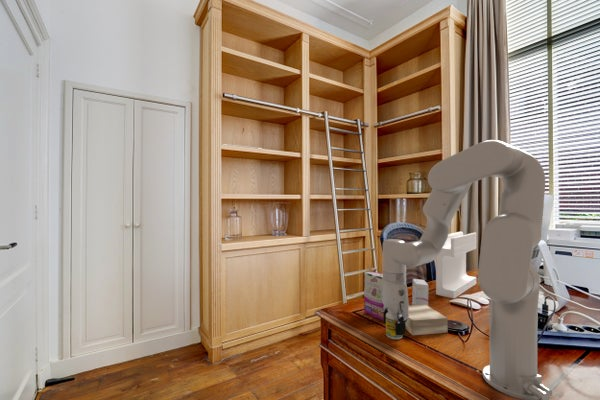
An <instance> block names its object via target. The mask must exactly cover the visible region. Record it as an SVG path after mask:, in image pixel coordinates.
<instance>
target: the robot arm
mask: <svg viewBox="0 0 600 400" xmlns="http://www.w3.org/2000/svg"><path fill="white" fill-rule="evenodd" d="M488 177H494V178H499V179H501V180H502V189H501V192H500V198H499V208H498V215H497V216H495V217H492V218H491V219H490V220H489V221H488V222H487V223H486V225H485V227H484V228H483V232H482V234H481V242H480V250H479V251H480V253H479V261H478V269H477V270H478V271H477V280H478V285H479V287H480V290H481V291H482V292H483V294H484V295H485V296H487V298H489V299H490V302H489V364H488V365H486V366H484V367H483V368H482V377H483V379H484V380H485V382H486V383H488V385H490V387H492V388H493V389H495V390H497V391H499V392H501V393H503V394H505V395H507V396H510V397H513V398H517V399H520V400H550V396H552V395H553V390H551V389H550V388H549V387H547V386H545V385H544V384H543V379H542V378H543V376H542V375H540V374H539V373H538V324H539V323H538V321H539V318H538V313H539V312H538V311H539V310H538V309H539V295H540V287H541V279H540V275H539V272H538V269H537V268H536V266H535V265H534V264H533V263H532V262H531V261H532V253H533V252H532V251H533V249H535V248H536V247H538V245H539V244H540V242H541V240H542V239H541V238H542V230H543V229H542V227H543V216H544V209H545V208H544V207H545V203H544V202H545V191H546V175H545V171H544V168H543V166H542V165H541V163H540V161H539V160H538V159H537V158H536V156H533V155H532V154H531V153H529V152H527V151H525V150H523V149H520V148H518V147H516V146H514V145H511V144H510V143H509V144H508V143H506V142H504V141H502V140H496V139H494V140H493V139H489V140H485V141H482V142H479V143H476V144H474V145H472V146H470V147H468V148H465V149H464V150H462V151H460V152H456V153H455V154H453V155H451V156H450V155H449V157H446V158H445V159H442V160H441V161H439V162H437V163H436V164H434V165H433V166H432V167H431V168H430V170H429V172H428V175H427V183H428V185H429V186H430V188H431V191H430V194H429V195H428V197H427V199H426V201H425V203H424V204H423V207H422V212H423V215H424V216H425V217H426V225H425V228H424V231H423V232H422V234H421V236H420V238H419V239H418V240H415V241H414V240H413V241H410V242H405V241H404V240H402V239H398V238H397V239H395V238H389V239H388V238H387V239H384V240H383V242H382V274H383V291H382V302H383V311H384V312H383V321H382V322H383V324H384V325H386V313H387V312H388V309H389V310H390V311H391V312H393V313H394V314H395V316H396V321H397V322H395V334H396V335H403V336H405V335H406V321H407V318H408V317H409V313H408V312H409V293H408V292H409V291H408V286H407V267H410V268H414V267H419V266H422V265H426V264H429V263H431V262H432V263H433V261H435V260H436V257H437V256H438V254H439V253H440V251H441V249H442V248H443V246H444V244H445V242H446V240H447V238H448V234H450V230H451V226H452V221H453V218H454V216H455V215H456V213H457V211H458V210H459V207H460V206H461V204H462V202H463V200H464V198H465V197H466V195H467V193H468V191H469V190H470V188H471V186H472V184H473V183H475V182H478V181H480V180H484V179H486V178H488ZM397 311H401V312H398V313H397ZM398 315H402V317H400V318H399V316H398Z"/></svg>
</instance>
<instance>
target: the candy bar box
mask: <svg viewBox="0 0 600 400" xmlns="http://www.w3.org/2000/svg"><path fill="white" fill-rule="evenodd" d="M363 275H364V277H363V278H364V286H363V287H364V288H363V289H364V290H363V291H364V295H363V296H364V301H363V303H364V304H363V308H364V311H363V312H364V314H366V315H368V316H370V317H373V318H375V319H378V320H380V321H382V322H383V312H384V311H383V302H382V291H383V273H380V272H376V271H367V272H364V274H363Z"/></svg>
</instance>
